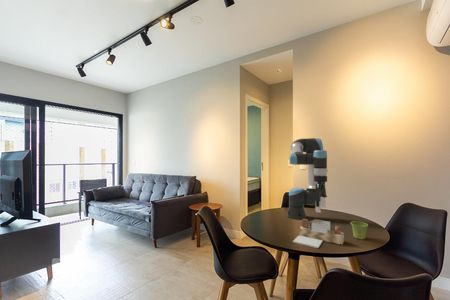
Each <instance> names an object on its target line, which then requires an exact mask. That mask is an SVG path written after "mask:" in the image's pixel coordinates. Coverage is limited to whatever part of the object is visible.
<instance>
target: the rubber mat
mask: <svg viewBox="0 0 450 300" xmlns="http://www.w3.org/2000/svg"><path fill="white" fill-rule="evenodd" d="M323 242H324V241H322V240H318V239H313V238H309V237H304V236H300V235H298V236H296V237H295V238H294V240H292V243H294V244H298V245H302V246H306V247H311V248H314V249H319V248H320V247H321V245H322V244H323Z"/></svg>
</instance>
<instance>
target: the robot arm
mask: <svg viewBox="0 0 450 300" xmlns="http://www.w3.org/2000/svg"><path fill="white" fill-rule="evenodd" d="M290 150H291V152H292V153H289V165H295V166H296V165H298V166H299V165H301V166H302V165H303V166H305V165H307V169H308V170H307V171H308V173H307V175H308V177H307V180H308V183H307V185H308V186H307V187H306V189H305V188H303V187H295V188H290V189H289V191H288V209H287V212H286V217H287V218H289V219H293V220H302V219H307V213H306V211H305V206H306V205H307V206H309V205H310V206H315V213H322V211H321V209H323V208H324V209H326V208H327V207H326V203H327V201H326V198H327V197H328V195H327V189H326V183H327V182H328V176H327V175H328V172H329V170H328V152H327V150H325V149H324V145H323V141H322V139H321V138H314V137H312V138H299V139H296V140H294V141H293V142H292V143H291V144H290Z"/></svg>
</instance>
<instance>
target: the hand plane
mask: <svg viewBox="0 0 450 300" xmlns="http://www.w3.org/2000/svg"><path fill="white" fill-rule="evenodd" d="M301 221H302V222H301V226H300V227H299V236H304V237H309V238H313V239H318V240H322V241H323V242H327V243H332V244H337V245H340V244H341V246H343V244H344V241H345V240H344V239H345V234H344V232H342V227H341V226H340V225H335V226H334V230H331V229H330V231H329V232H328V234H326V233H321V232H316V231H312V222H313V221H314V219H312V220H310V221H309V219H307V218H305V219H301Z"/></svg>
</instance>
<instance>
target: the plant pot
mask: <svg viewBox="0 0 450 300" xmlns="http://www.w3.org/2000/svg"><path fill="white" fill-rule="evenodd" d="M350 225H351V228H352V233H353V238H355V239H359V240H365V239H366V236H367V229H368V227H369V224H368V223H366V222H363V221H350Z"/></svg>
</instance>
